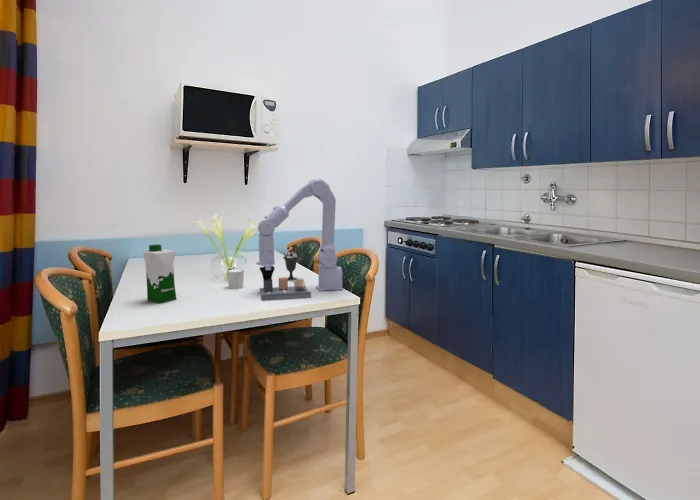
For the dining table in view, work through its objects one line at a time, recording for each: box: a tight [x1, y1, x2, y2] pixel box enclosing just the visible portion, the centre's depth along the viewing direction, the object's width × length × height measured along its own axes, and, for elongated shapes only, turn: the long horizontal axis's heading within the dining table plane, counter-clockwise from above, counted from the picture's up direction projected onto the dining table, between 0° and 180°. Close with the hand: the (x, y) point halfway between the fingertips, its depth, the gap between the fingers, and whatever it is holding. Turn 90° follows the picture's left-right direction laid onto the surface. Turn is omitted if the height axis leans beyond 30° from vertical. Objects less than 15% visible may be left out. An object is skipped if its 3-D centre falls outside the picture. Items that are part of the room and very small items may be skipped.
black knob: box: [262, 278, 274, 291], centre depth 166 cm, size 3×3×4 cm
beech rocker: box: [292, 278, 307, 288], centre depth 168 cm, size 4×6×1 cm, turn 15°
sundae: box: [282, 245, 299, 281], centre depth 193 cm, size 7×7×15 cm
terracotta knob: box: [278, 276, 289, 289], centre depth 169 cm, size 3×3×4 cm
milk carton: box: [142, 244, 177, 304], centre depth 156 cm, size 9×9×20 cm
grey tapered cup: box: [226, 268, 245, 290], centre depth 177 cm, size 7×7×7 cm
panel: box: [259, 285, 312, 302], centre depth 166 cm, size 18×15×3 cm
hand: (267, 285), depth 169 cm, fingers closed
